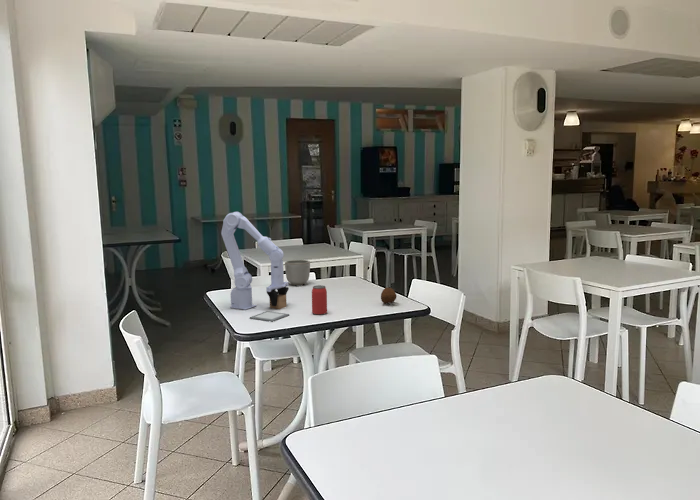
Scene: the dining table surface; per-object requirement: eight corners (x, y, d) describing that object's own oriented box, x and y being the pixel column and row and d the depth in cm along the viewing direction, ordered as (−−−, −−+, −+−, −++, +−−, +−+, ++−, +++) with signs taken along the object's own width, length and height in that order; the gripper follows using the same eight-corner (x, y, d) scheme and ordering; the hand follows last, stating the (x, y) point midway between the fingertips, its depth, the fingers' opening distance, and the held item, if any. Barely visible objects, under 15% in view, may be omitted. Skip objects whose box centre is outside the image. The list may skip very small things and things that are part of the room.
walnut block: (269, 307, 252) (269, 296, 252) (276, 305, 257) (276, 293, 256) (279, 309, 250) (279, 297, 249) (286, 306, 255) (286, 295, 254)
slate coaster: (249, 318, 234) (249, 317, 234) (266, 312, 244) (266, 310, 244) (272, 322, 228) (272, 320, 228) (289, 315, 239) (289, 313, 238)
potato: (393, 301, 263) (393, 285, 262) (398, 306, 253) (398, 289, 252) (378, 302, 262) (378, 285, 261) (382, 306, 252) (382, 290, 251)
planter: (309, 287, 298) (308, 263, 296) (283, 287, 298) (283, 263, 297) (311, 282, 312) (311, 259, 310) (287, 282, 312) (286, 259, 310)
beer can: (325, 315, 238) (324, 288, 236) (310, 314, 239) (309, 287, 238) (328, 311, 244) (328, 285, 243) (314, 311, 246) (313, 284, 244)
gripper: (275, 278, 243) (275, 308, 245) (293, 273, 256) (294, 301, 258) (262, 277, 246) (263, 306, 248) (281, 272, 259) (281, 300, 261)
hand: (278, 304), depth 253 cm, fingers closed on walnut block, 5 cm apart
